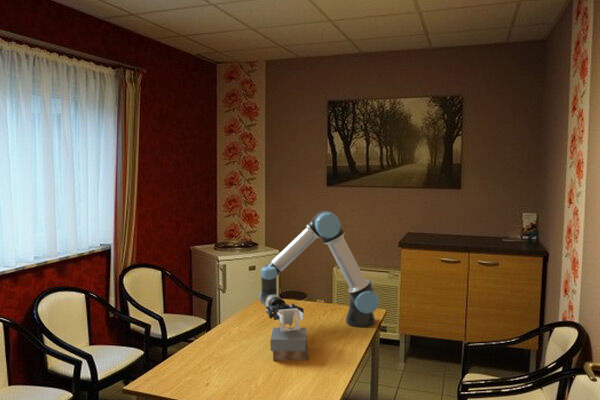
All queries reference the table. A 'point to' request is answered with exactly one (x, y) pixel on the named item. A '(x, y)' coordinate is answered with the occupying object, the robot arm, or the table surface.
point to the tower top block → (288, 340)
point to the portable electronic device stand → (289, 319)
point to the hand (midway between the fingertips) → (293, 318)
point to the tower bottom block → (290, 355)
